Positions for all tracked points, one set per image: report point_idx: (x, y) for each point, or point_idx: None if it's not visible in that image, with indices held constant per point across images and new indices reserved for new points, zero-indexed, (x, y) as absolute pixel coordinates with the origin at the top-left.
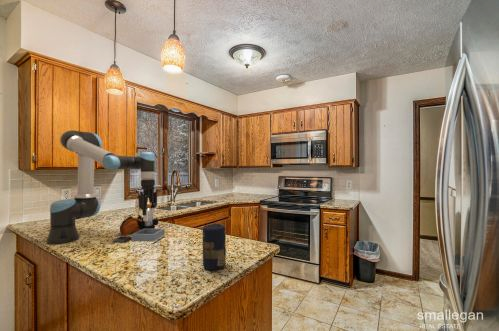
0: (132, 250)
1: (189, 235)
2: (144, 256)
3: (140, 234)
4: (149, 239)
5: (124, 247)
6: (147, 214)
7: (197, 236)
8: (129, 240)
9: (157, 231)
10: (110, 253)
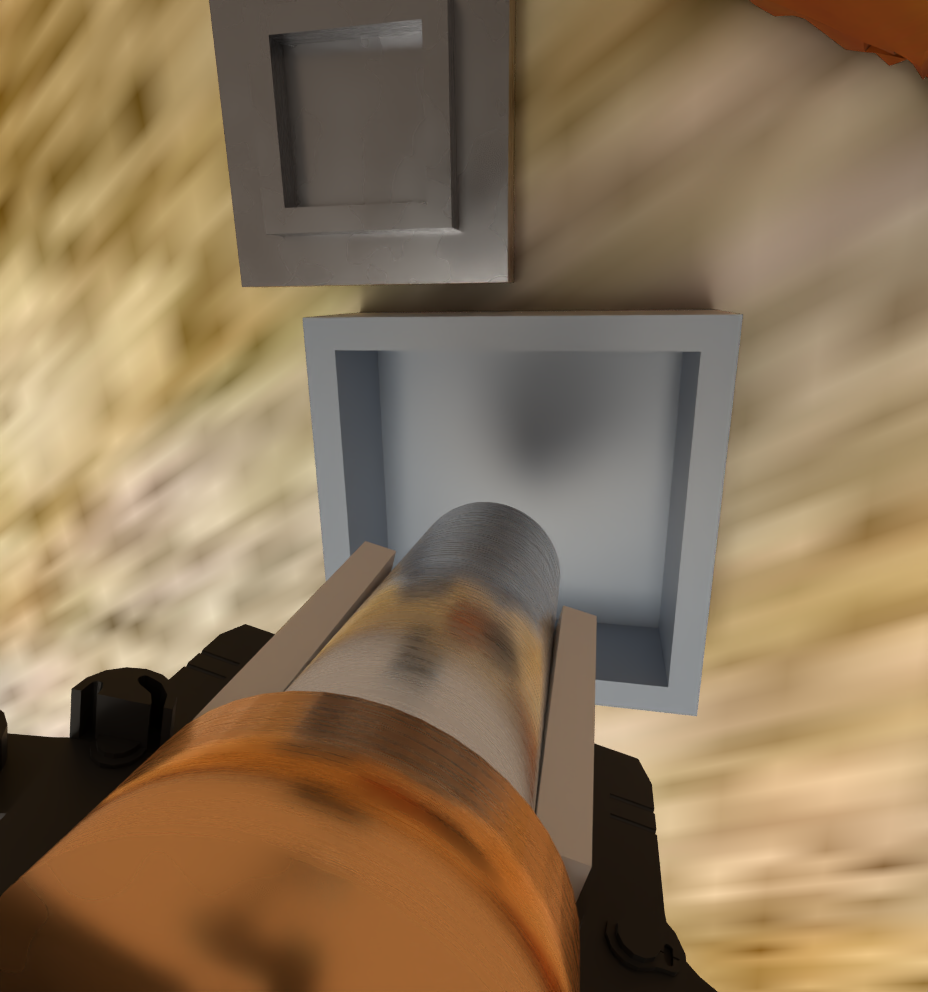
0: (146, 479)
1: (753, 909)
2: (54, 665)
3: (320, 478)
4: None
5: (207, 319)
6: None
7: None
8: (352, 273)
9: (672, 588)
10: (15, 287)
